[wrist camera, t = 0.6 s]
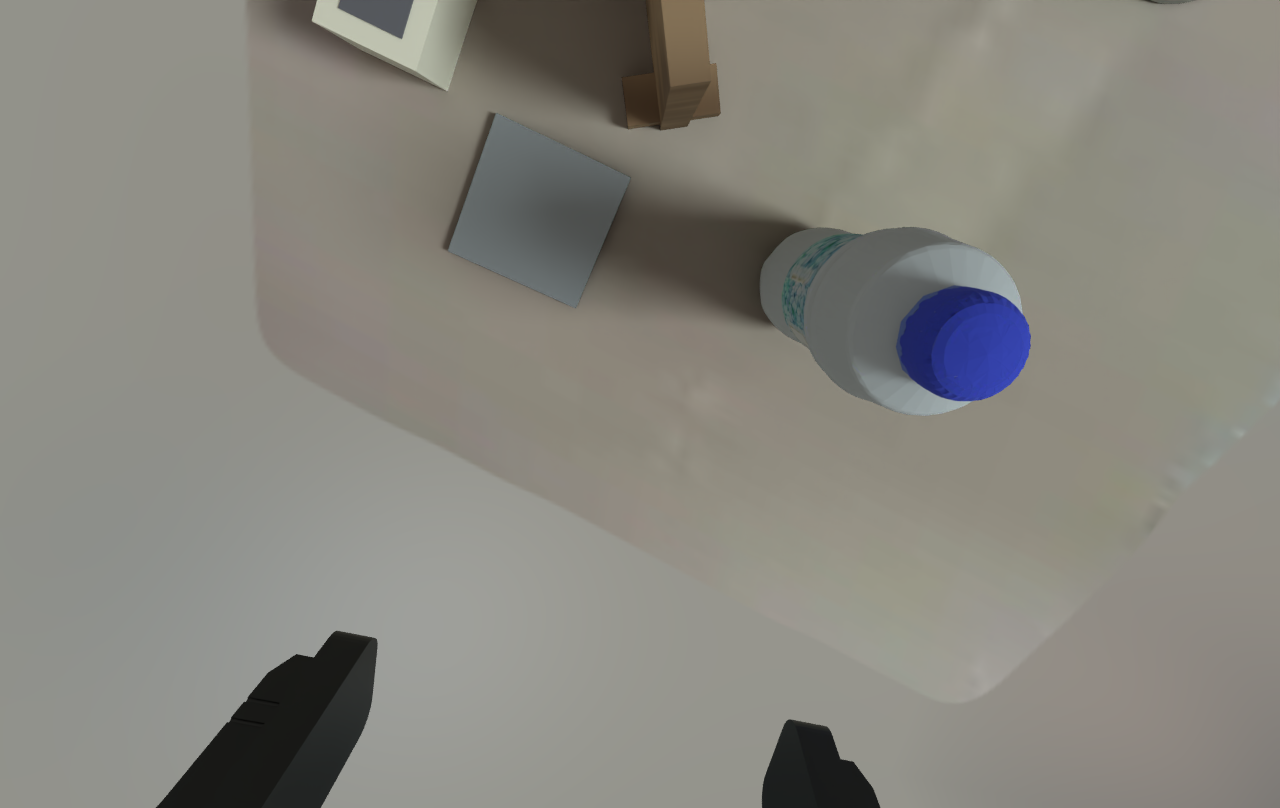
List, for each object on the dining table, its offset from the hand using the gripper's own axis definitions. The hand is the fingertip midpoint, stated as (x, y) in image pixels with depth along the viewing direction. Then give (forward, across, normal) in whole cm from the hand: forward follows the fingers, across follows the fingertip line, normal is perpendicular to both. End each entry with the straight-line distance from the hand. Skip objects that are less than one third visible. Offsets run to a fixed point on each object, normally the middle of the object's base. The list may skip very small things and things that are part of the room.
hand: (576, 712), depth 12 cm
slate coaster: (+27, +7, -8) cm, 29 cm away
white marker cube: (+28, +15, -16) cm, 35 cm away
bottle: (+28, -9, -7) cm, 30 cm away
